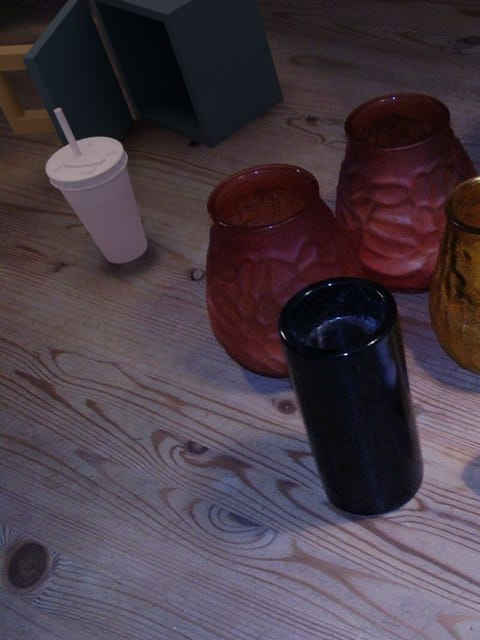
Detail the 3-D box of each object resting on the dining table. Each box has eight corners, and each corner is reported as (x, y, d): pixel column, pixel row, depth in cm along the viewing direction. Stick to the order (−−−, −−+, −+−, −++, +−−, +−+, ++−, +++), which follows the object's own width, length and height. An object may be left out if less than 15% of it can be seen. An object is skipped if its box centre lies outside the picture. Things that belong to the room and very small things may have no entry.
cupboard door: (31, 192, 96) (-36, 62, 86) (76, 123, 104) (20, -3, 94) (93, 189, 95) (32, 58, 85) (134, 120, 103) (83, -7, 93)
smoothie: (122, 221, 91) (60, 84, 81) (177, 236, 88) (120, 95, 78) (74, 265, 87) (3, 126, 77) (131, 281, 85) (65, 140, 75)
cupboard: (213, 149, 98) (166, 14, 88) (135, 118, 104) (83, -12, 94) (284, 100, 103) (248, -33, 93) (206, 73, 109) (164, -55, 99)
